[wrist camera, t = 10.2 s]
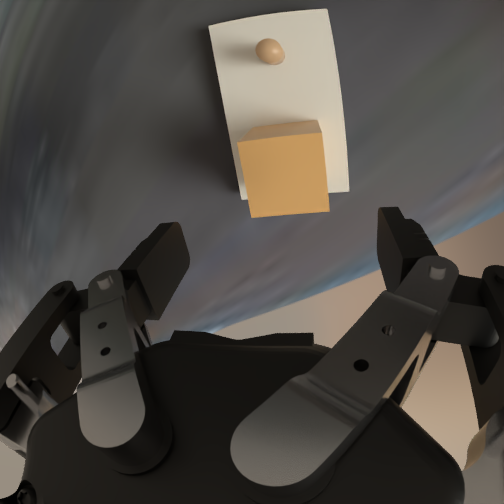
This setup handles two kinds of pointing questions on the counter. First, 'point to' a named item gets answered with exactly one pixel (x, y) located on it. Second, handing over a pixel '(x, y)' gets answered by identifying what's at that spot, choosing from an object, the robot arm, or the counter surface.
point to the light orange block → (284, 169)
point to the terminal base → (282, 81)
